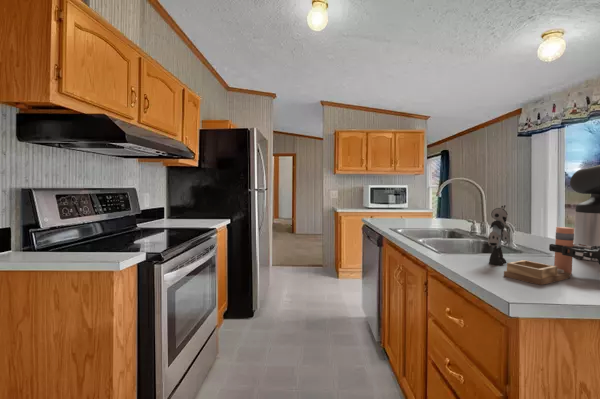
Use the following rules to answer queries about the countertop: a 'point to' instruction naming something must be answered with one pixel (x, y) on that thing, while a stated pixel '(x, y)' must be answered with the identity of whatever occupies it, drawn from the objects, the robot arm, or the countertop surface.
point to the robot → (498, 236)
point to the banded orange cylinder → (564, 238)
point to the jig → (535, 272)
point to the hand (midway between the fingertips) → (554, 246)
